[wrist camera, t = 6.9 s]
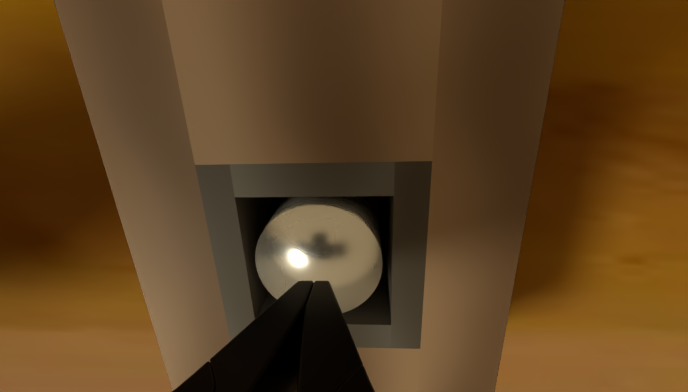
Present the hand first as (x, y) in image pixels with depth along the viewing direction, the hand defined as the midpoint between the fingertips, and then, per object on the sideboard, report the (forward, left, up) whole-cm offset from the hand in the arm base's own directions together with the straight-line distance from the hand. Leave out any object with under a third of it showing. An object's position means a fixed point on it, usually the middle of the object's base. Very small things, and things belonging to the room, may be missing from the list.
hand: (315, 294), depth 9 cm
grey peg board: (0, +6, -6) cm, 9 cm away
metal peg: (0, 0, -6) cm, 6 cm away
